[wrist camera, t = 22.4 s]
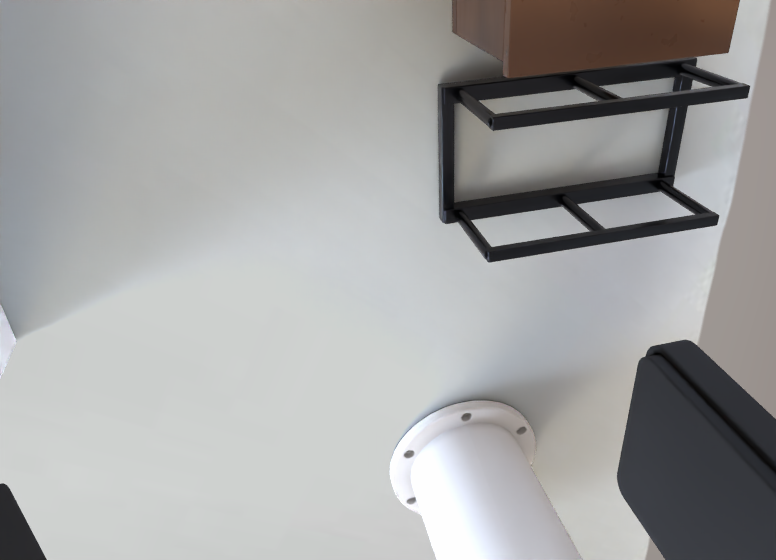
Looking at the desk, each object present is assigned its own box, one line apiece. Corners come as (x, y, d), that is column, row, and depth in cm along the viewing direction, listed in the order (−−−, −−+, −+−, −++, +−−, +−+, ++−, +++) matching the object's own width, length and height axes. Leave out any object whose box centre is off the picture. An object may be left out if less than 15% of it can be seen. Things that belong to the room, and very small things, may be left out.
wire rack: (665, 184, 45) (729, 225, 40) (439, 218, 43) (473, 267, 37) (689, 55, 41) (766, 80, 35) (437, 84, 38) (476, 116, 32)
